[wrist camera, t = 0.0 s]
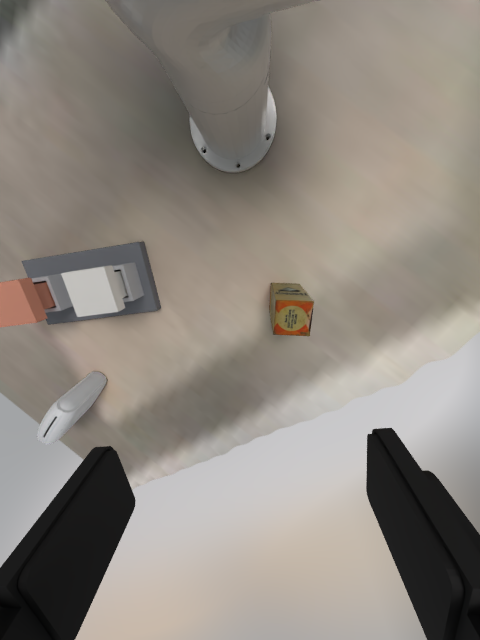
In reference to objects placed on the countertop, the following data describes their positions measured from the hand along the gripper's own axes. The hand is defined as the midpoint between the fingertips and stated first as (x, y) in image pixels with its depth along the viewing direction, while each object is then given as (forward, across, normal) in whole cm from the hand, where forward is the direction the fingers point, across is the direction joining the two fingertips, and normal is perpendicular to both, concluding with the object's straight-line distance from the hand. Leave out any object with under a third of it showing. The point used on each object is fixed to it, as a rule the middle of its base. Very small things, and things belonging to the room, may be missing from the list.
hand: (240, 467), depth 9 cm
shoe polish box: (+37, -5, +3) cm, 37 cm away
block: (+37, +29, -4) cm, 47 cm away
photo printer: (+37, +38, +18) cm, 56 cm away
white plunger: (+31, +23, -4) cm, 39 cm away
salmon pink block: (+31, +36, -4) cm, 48 cm away
